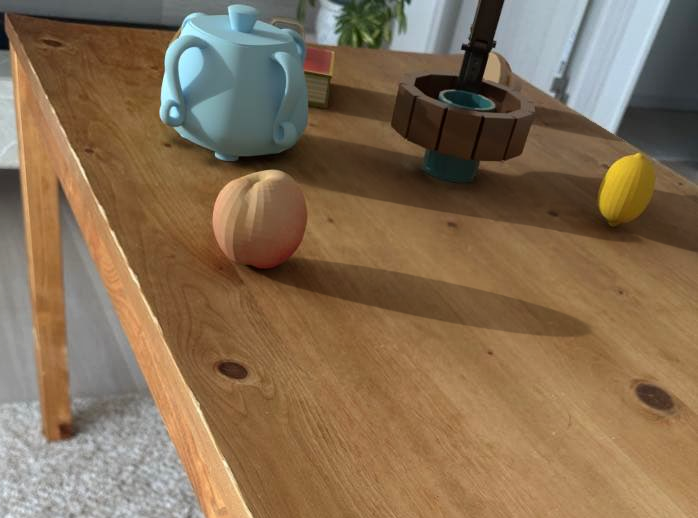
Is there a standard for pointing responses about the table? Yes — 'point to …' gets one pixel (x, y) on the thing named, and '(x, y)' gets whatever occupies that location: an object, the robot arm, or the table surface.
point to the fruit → (260, 219)
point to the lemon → (626, 189)
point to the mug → (501, 72)
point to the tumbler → (450, 165)
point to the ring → (461, 118)
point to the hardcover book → (311, 73)
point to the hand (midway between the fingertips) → (462, 109)
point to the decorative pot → (236, 84)
